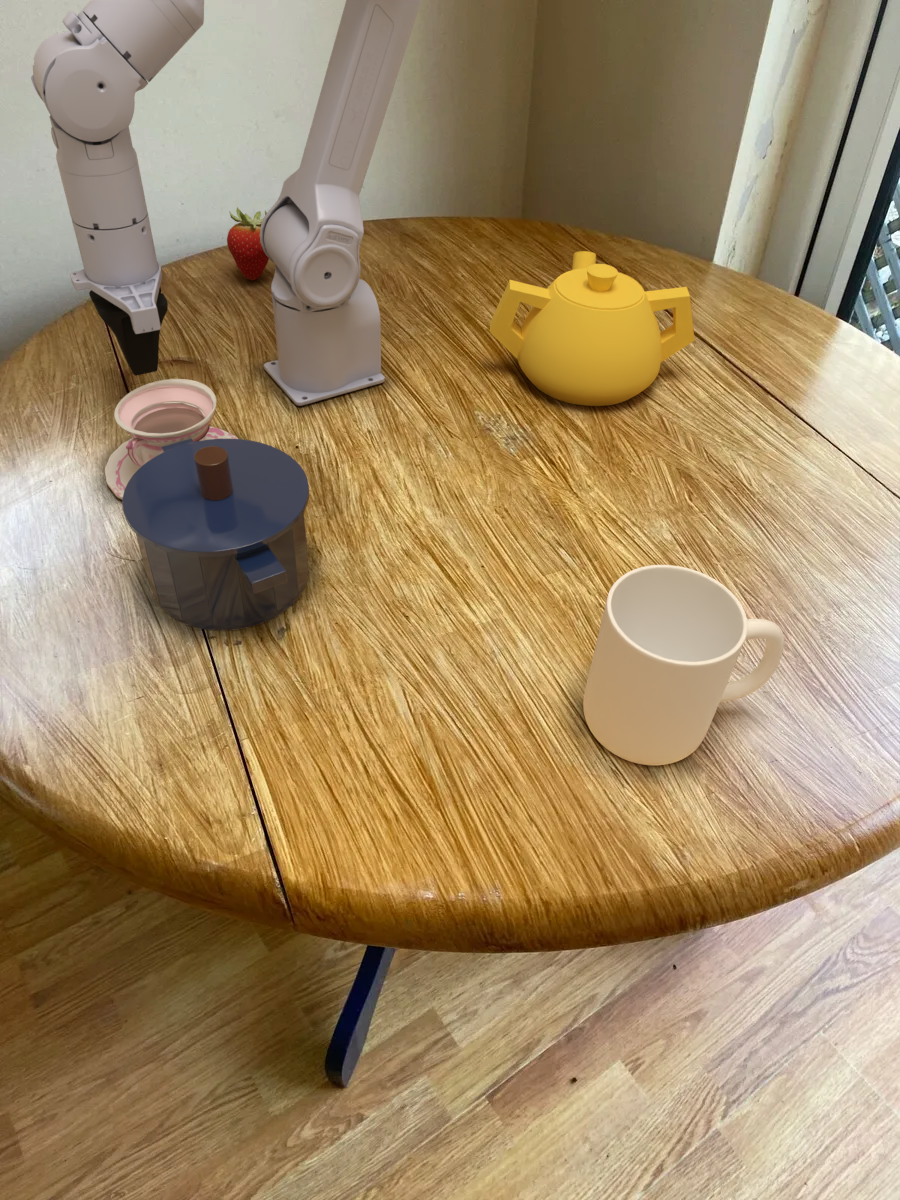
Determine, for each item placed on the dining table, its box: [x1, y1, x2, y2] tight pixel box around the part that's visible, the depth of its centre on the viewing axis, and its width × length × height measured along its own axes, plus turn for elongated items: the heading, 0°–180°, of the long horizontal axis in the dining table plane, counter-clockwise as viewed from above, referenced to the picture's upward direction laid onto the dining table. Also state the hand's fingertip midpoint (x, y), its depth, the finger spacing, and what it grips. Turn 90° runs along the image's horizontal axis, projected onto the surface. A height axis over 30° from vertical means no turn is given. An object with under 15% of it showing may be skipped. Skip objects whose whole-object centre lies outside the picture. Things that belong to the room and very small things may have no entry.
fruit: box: [226, 207, 270, 281], centre depth 100 cm, size 5×5×8 cm
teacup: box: [104, 378, 239, 501], centre depth 75 cm, size 12×12×6 cm
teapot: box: [489, 250, 696, 407], centre depth 89 cm, size 20×18×11 cm
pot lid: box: [121, 438, 310, 557], centre depth 62 cm, size 13×13×4 cm
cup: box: [582, 564, 785, 766], centre depth 57 cm, size 8×12×10 cm
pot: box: [135, 439, 310, 632], centre depth 66 cm, size 12×17×8 cm
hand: (144, 369), depth 80 cm, fingers closed
